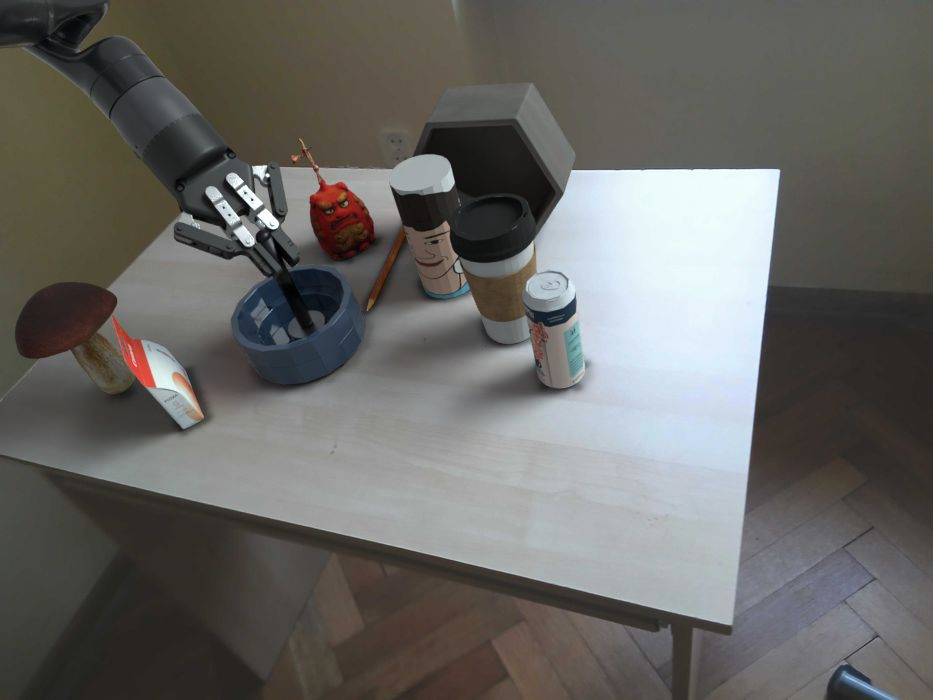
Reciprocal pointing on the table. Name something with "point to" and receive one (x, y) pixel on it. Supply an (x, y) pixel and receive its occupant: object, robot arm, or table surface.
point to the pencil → (386, 269)
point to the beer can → (554, 328)
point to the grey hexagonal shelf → (500, 144)
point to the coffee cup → (497, 260)
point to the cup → (429, 221)
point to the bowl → (269, 315)
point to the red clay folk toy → (338, 216)
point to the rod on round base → (292, 294)
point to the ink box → (161, 377)
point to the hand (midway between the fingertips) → (288, 269)
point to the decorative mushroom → (74, 331)
